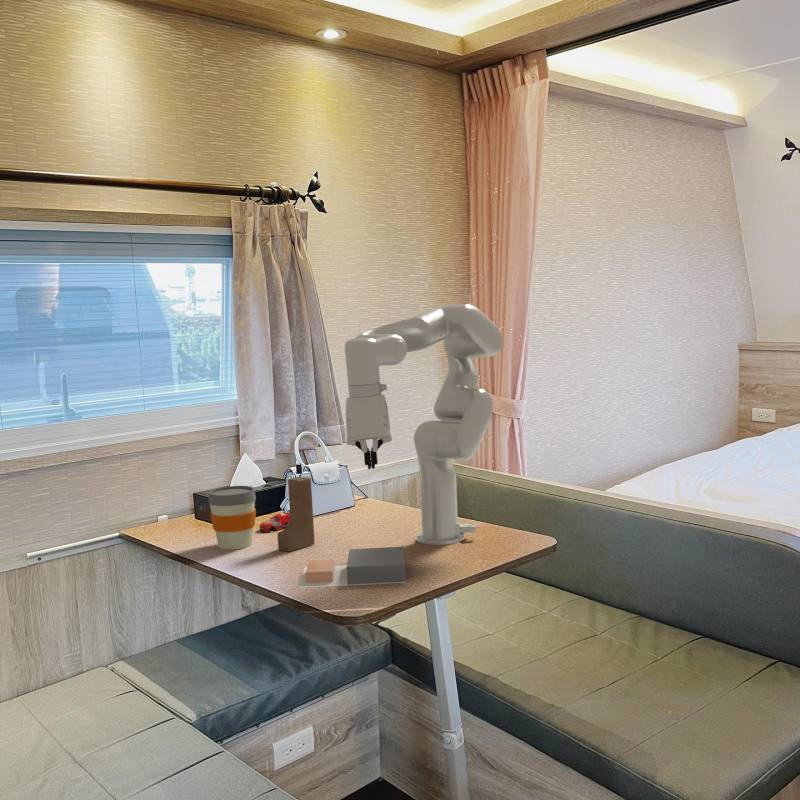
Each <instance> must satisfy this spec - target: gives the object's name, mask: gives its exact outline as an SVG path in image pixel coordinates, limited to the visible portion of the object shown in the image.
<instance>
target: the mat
mask: <svg viewBox="0 0 800 800" xmlns="http://www.w3.org/2000/svg"><path fill="white" fill-rule="evenodd" d="M306 570H307V566H305V567H303V570H302V574H301V577H300V581H299V584H298V587H297V588H298V589H307V588H324V587H325V588H327V587H344V586H346V587H347V586H362V585H363V586H364V585H382V584H383V585H386V584H387V585H388V584H405V583H407V581H406V582H389V583H370V584H350V585H348V581H347V564H345V565H343V564H341V565H335V573H334V579H333V582H322V583H306Z"/></svg>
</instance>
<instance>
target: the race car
mask: <svg viewBox="0 0 800 800" xmlns="http://www.w3.org/2000/svg"><path fill="white" fill-rule="evenodd" d="M289 520H290V512H281V513H277V514H275V515H273V516H272V517H269V519H267V520H264V521H263V522H261V523H260V524H259V531H261V532H268V533H272V532H271V531H274V532H275V531H280V530H284V529H286V527H287V526H288V524H289ZM283 528H284V529H283ZM279 529H280V530H279ZM269 531H270V532H269Z"/></svg>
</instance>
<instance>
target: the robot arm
mask: <svg viewBox="0 0 800 800" xmlns="http://www.w3.org/2000/svg"><path fill="white" fill-rule="evenodd" d="M442 341H443V346H444V347H443V348H444V351H445V356H446V359H447V362H448V364H447V365H448V370H447V371H448V372H447V375H446V377H445V380H444V381H443V384H442V386H441V388H440V390H439V392H438V396H437V397H436V401H435V402H434V405H433V414H434V415H435V417H436V418H437V419H438V420H428V421H424V422H422V423H420V424H419V425H417V428H416V429H415V430H414V431H415V432H414V435H413V436H414V437H413V443H414V447H415V452H416V456H417V460H418V468H419V470H418V471H419V472H418V473H419V487H420V489H419V491H420V512H421V513H420V514H421V532H419V533H418V534H417V535H416V541H417V542H418V543H420V544H422V545H427V546H428V545H429V546H448V545H449V546H450V545H453V544H459V543H461V542H463V541H464V540H465V533H477V532H476V531H477V527H476V526H477V525H476V524H471V523H464V524H463V523H460V521H459V518H458V517H459V516H458V498H457V497H458V495H457V473H456V469H455V467H454V464H453V462H452V460H451V459H453V460H463V461H465V460H469V459H471V458H473V457H474V456H475V455H476V453H477V452H478V450H479V447H480V445H481V443H482V441H483V439H484V436H485V434H486V432H487V429H488V427H489V425H490V422H491V419H492V416H493V412H494V411H493V410H494V403H493V398H492V395H491V394H490V393H489V392H488V391H487V390H485V389H482V388H478V386H477V385H478V382H479V373H478V371H477V369H476V367H475V366H474V364H473V363H474V362H473V361H472V359H471V358H479V357H480V358H481V357H482V358H483V357H484V358H487V357H489V358H490V357H494V356H497V355H498V354H499V353H500V352H501V351H502V348H503V346H504V336H503V333H502V331H501V330H500V328H499V327H498V325H497V324H496V323H494V322H493V321H492V320H491V319H490V318H489V317H488V316H487V315H486V314H485V313H483V312H482V311H481V309H479V308H477V307H476V306H473V305H471V304H468V303H463V304H446V305H445V304H444V305H438V306H436V307H433V308H431V309H428V310H426V311H424V312H422V313H419V314H417V315H414V316H413V317H409V318H406V319H402V320H399V321H396V322H392V323H388V324H384V325H381V326H378V327H375V328H372V329H369V330H367V331H365V332H362V333H359V334H357V336H356V337H354V338H351V339H348V340H346V342H345V344H344V353H345V354H344V355H345V365H346V376H347V385H348V386H347V387H348V388H347V389H348V397H346V399H345V430H346V445H347V446H353V447H357V448H358V449H359V450H361V452H362V453H363V457H364V459H363V460H364V466H367V469H368V470H370V469H372V470H373V469H374V470H375V469H376V465H378V463H379V462H378V454H377V451H378V450H379V449H380V448H381V446H382V445H385V444H388V443H390V442H391V441H392V440H393V439H392V435H391V426H390V425H391V424H390V417H389V410H388V404H387V400H386V396H385V394H382V393H383V392H384V391H387V390H388V387H387V384H384V383H381V378H380V367H381V366H386V367H387V366H396V365H398V364H401V363H402V361H404V360H405V358H406V356H407V354H408V353H411V352H416V351H422V350H425V349H427V348H429V347H431V346H433V345H435V344H437V343H439V342H442ZM367 440H372V447H371V448H369V447H368V443H367ZM462 540H463V541H462ZM458 542H459V543H458Z"/></svg>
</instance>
